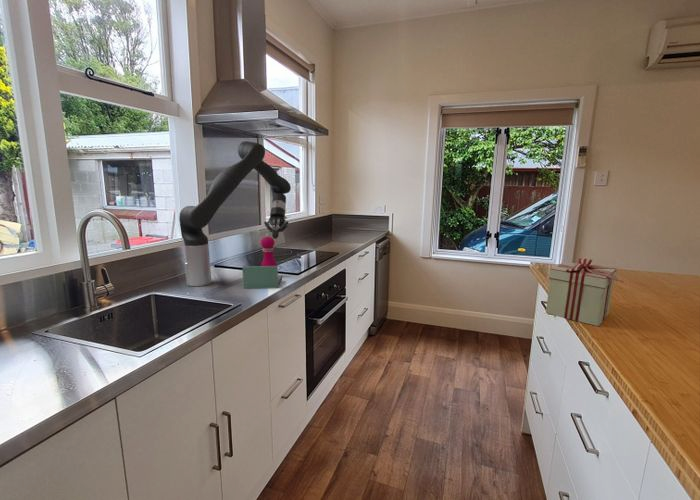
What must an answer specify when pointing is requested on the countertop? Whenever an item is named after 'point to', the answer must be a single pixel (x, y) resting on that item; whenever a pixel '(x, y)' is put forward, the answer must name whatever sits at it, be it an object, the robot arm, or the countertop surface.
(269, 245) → the pepper mill
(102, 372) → the countertop surface
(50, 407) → the countertop surface
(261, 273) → the green rectangular block
